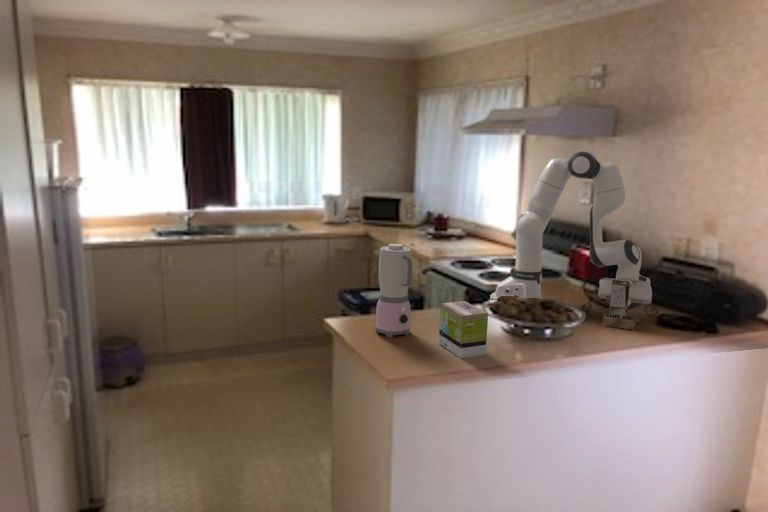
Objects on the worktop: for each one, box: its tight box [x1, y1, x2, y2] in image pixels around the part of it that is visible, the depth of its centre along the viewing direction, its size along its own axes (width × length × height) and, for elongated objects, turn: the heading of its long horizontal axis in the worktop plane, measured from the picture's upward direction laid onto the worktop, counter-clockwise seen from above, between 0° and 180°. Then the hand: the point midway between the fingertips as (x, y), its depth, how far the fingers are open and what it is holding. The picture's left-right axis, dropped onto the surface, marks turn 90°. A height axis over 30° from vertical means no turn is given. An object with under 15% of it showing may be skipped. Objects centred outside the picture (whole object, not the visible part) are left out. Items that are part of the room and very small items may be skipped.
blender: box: [375, 243, 413, 339], centre depth 209 cm, size 16×12×32 cm
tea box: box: [438, 300, 489, 359], centre depth 197 cm, size 15×10×15 cm
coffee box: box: [608, 280, 630, 320], centre depth 233 cm, size 9×6×16 cm
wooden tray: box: [601, 308, 641, 331], centre depth 232 cm, size 14×13×4 cm
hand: (622, 309), depth 237 cm, fingers closed
